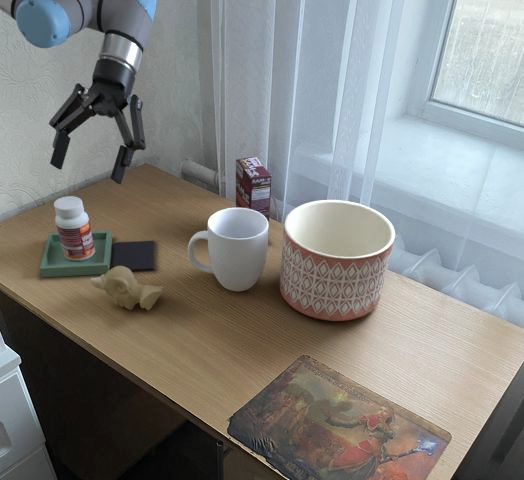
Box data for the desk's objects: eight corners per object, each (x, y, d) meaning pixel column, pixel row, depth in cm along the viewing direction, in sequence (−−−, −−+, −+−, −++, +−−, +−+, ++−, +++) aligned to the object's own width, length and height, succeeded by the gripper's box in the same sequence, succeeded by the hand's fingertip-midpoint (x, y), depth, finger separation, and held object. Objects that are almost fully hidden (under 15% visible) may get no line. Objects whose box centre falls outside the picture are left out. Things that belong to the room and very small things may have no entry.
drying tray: (50, 241, 112) (48, 233, 110) (112, 239, 114) (110, 230, 112) (42, 277, 103) (39, 268, 102) (109, 273, 105) (107, 264, 103)
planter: (296, 334, 94) (304, 264, 84) (267, 271, 107) (271, 204, 97) (395, 318, 98) (414, 250, 88) (355, 260, 112) (368, 195, 101)
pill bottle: (93, 262, 106) (82, 210, 98) (61, 262, 106) (47, 210, 98) (97, 244, 111) (87, 194, 103) (67, 245, 110) (54, 194, 102)
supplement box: (234, 227, 119) (234, 158, 108) (254, 224, 120) (256, 155, 109) (247, 248, 113) (249, 177, 102) (269, 244, 115) (273, 174, 104)
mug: (185, 296, 101) (181, 235, 92) (193, 262, 109) (190, 204, 100) (264, 300, 101) (267, 240, 92) (266, 266, 109) (269, 208, 100)
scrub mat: (115, 244, 112) (114, 242, 112) (153, 242, 113) (153, 240, 113) (112, 272, 105) (112, 270, 105) (154, 270, 106) (153, 268, 106)
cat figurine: (153, 295, 91) (90, 264, 91) (142, 329, 94) (80, 299, 94) (171, 280, 98) (112, 251, 98) (159, 311, 101) (103, 284, 101)
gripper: (182, 89, 103) (150, 194, 104) (73, 68, 109) (43, 168, 110) (166, 67, 96) (132, 180, 96) (50, 46, 102) (18, 152, 102)
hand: (85, 174), depth 103 cm, fingers open, 13 cm apart
